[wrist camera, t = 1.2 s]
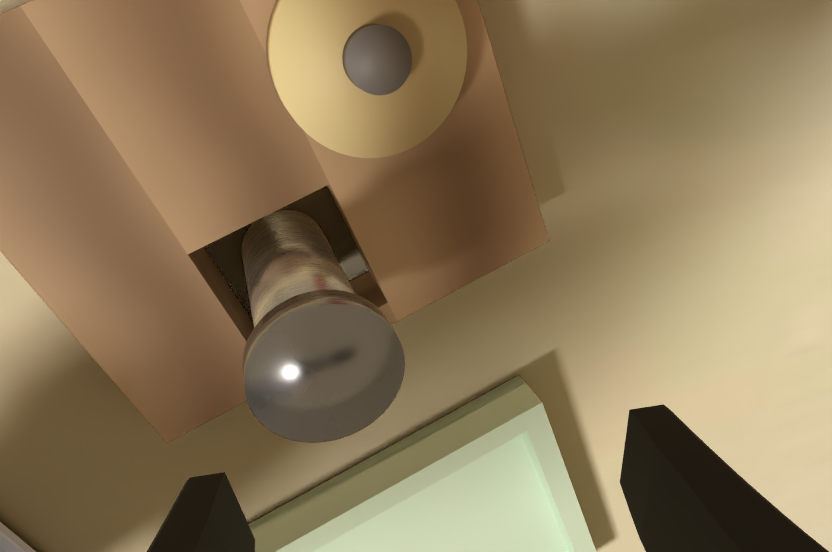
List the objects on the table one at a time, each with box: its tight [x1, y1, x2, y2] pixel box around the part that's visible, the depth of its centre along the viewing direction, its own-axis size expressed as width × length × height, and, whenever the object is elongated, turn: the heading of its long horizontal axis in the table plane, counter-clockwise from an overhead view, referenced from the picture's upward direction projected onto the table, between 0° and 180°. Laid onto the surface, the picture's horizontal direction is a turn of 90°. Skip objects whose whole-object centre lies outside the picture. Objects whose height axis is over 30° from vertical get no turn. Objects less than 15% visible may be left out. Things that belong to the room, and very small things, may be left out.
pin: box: [242, 209, 405, 443], centre depth 17 cm, size 4×4×8 cm
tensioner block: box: [0, 0, 549, 443], centre depth 17 cm, size 14×12×4 cm
